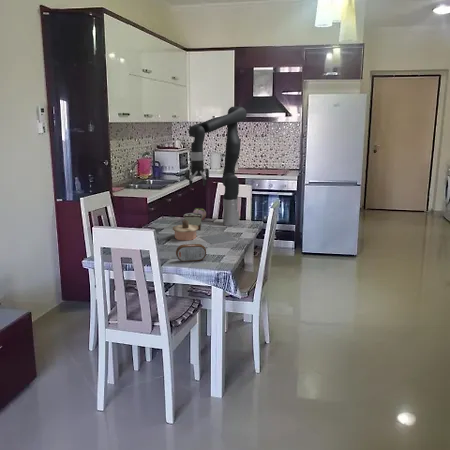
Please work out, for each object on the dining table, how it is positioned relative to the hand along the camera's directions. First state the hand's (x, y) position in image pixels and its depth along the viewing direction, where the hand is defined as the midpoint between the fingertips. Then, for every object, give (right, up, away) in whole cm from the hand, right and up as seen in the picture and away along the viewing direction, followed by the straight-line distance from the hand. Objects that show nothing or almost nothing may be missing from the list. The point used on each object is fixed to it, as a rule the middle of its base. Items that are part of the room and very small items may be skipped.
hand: (197, 186), depth 282 cm
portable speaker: (0, -42, -51) cm, 66 cm away
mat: (+13, -32, -13) cm, 37 cm away
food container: (-3, -27, +11) cm, 29 cm away
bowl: (-7, -32, -11) cm, 34 cm away
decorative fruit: (0, -21, +31) cm, 38 cm away
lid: (-6, -26, -12) cm, 29 cm away
